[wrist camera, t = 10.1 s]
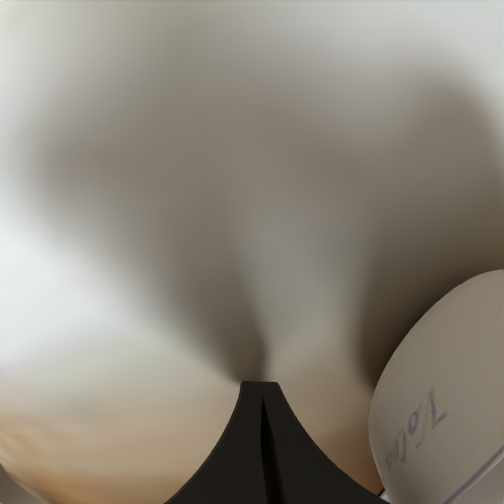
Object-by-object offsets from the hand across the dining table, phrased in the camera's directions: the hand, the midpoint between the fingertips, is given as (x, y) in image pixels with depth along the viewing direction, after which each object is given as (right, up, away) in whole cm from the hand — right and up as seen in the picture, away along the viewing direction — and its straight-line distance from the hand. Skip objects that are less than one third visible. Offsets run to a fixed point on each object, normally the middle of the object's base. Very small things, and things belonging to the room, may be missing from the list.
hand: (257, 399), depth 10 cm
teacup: (+10, 0, +2) cm, 10 cm away
